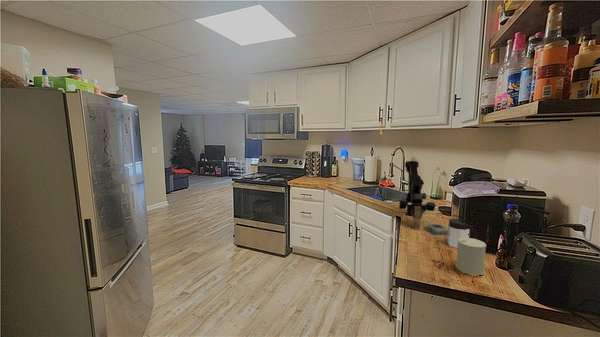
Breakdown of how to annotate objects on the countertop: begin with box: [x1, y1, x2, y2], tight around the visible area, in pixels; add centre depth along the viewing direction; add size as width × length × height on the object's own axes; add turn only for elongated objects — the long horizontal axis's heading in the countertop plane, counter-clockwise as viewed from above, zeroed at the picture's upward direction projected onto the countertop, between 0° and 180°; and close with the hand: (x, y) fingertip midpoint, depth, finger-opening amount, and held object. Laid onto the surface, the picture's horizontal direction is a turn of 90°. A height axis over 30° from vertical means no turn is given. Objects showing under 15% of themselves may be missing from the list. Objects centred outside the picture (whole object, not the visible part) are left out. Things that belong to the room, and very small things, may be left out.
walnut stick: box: [413, 206, 421, 231], centre depth 141 cm, size 3×3×13 cm
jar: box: [447, 218, 470, 249], centre depth 119 cm, size 9×8×12 cm
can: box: [455, 237, 487, 276], centre depth 96 cm, size 9×9×12 cm
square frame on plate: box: [423, 223, 448, 236], centre depth 137 cm, size 10×10×3 cm
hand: (417, 218), depth 140 cm, fingers closed on walnut stick, 3 cm apart
